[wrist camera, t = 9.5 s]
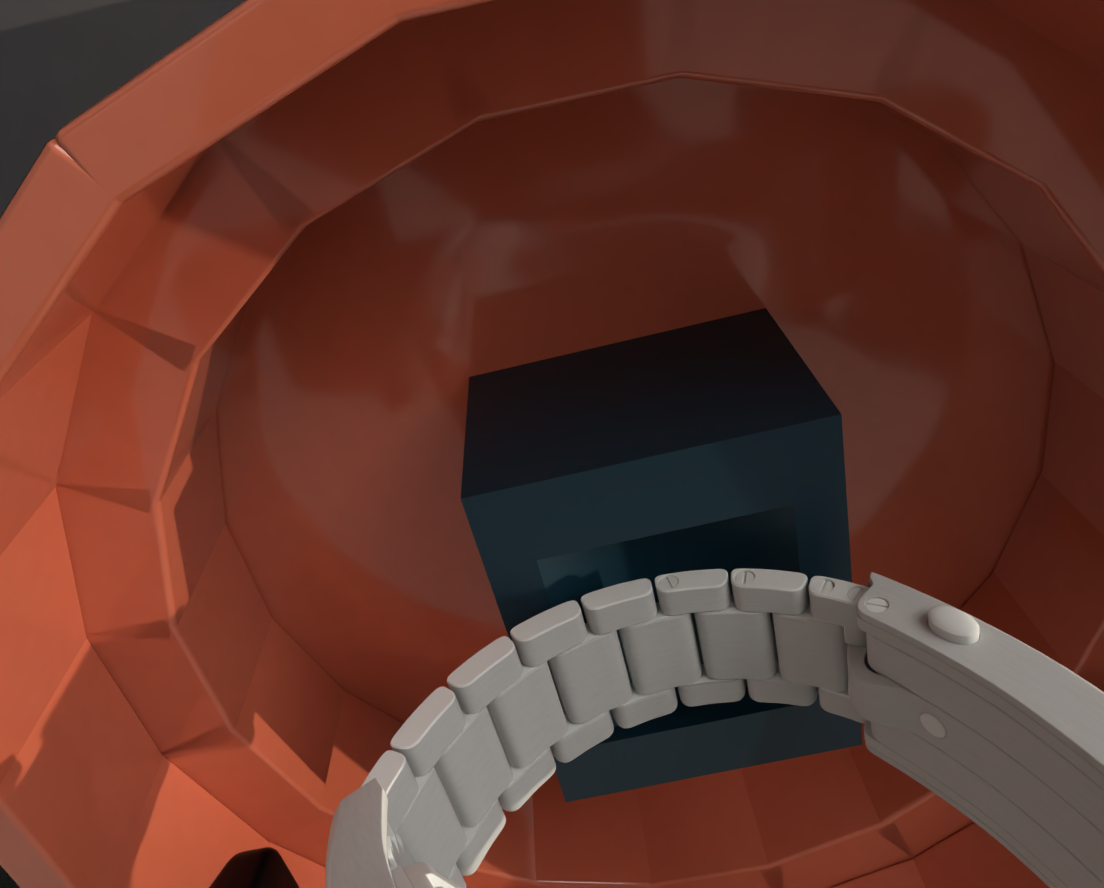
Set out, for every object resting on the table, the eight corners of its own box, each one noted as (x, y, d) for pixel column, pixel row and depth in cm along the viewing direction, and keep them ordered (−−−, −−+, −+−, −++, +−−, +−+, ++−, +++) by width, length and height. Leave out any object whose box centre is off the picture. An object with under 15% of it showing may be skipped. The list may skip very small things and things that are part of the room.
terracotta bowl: (1075, 721, 18) (1283, 1006, 13) (320, 852, 19) (258, 1162, 14) (1244, -263, 10) (1974, -455, 5) (-121, 55, 10) (-636, 153, 6)
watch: (338, 407, 13) (-160, 1863, 3) (891, 278, 12) (2370, 1578, 2) (448, 674, 15) (365, 1859, 6) (900, 582, 15) (1606, 1725, 5)
